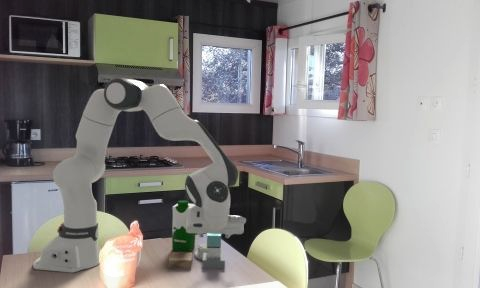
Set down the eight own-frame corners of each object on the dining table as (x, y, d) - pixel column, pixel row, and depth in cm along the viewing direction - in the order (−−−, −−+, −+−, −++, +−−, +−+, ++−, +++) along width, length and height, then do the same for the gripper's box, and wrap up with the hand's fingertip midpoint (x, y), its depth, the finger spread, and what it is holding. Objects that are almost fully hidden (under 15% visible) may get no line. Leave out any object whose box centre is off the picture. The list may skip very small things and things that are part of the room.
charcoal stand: (202, 268, 155) (202, 260, 155) (202, 260, 163) (203, 252, 163) (224, 268, 156) (224, 260, 155) (224, 260, 164) (224, 253, 163)
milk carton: (169, 250, 172) (170, 201, 170) (177, 243, 181) (178, 196, 179) (190, 253, 170) (191, 203, 168) (197, 246, 179) (199, 198, 177)
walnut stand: (168, 268, 154) (168, 259, 154) (170, 259, 162) (170, 252, 162) (191, 268, 155) (191, 260, 155) (192, 260, 163) (192, 252, 163)
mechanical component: (191, 259, 164) (216, 262, 162) (191, 248, 164) (216, 250, 162) (198, 250, 174) (222, 253, 172) (199, 240, 174) (223, 242, 172)
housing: (206, 258, 157) (207, 235, 156) (206, 254, 161) (207, 232, 160) (220, 258, 157) (221, 235, 156) (220, 254, 161) (220, 232, 161)
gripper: (246, 208, 148) (242, 228, 159) (186, 207, 146) (186, 227, 157) (246, 225, 144) (243, 244, 155) (185, 224, 142) (185, 243, 153)
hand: (214, 235), depth 156 cm, fingers open, 8 cm apart
